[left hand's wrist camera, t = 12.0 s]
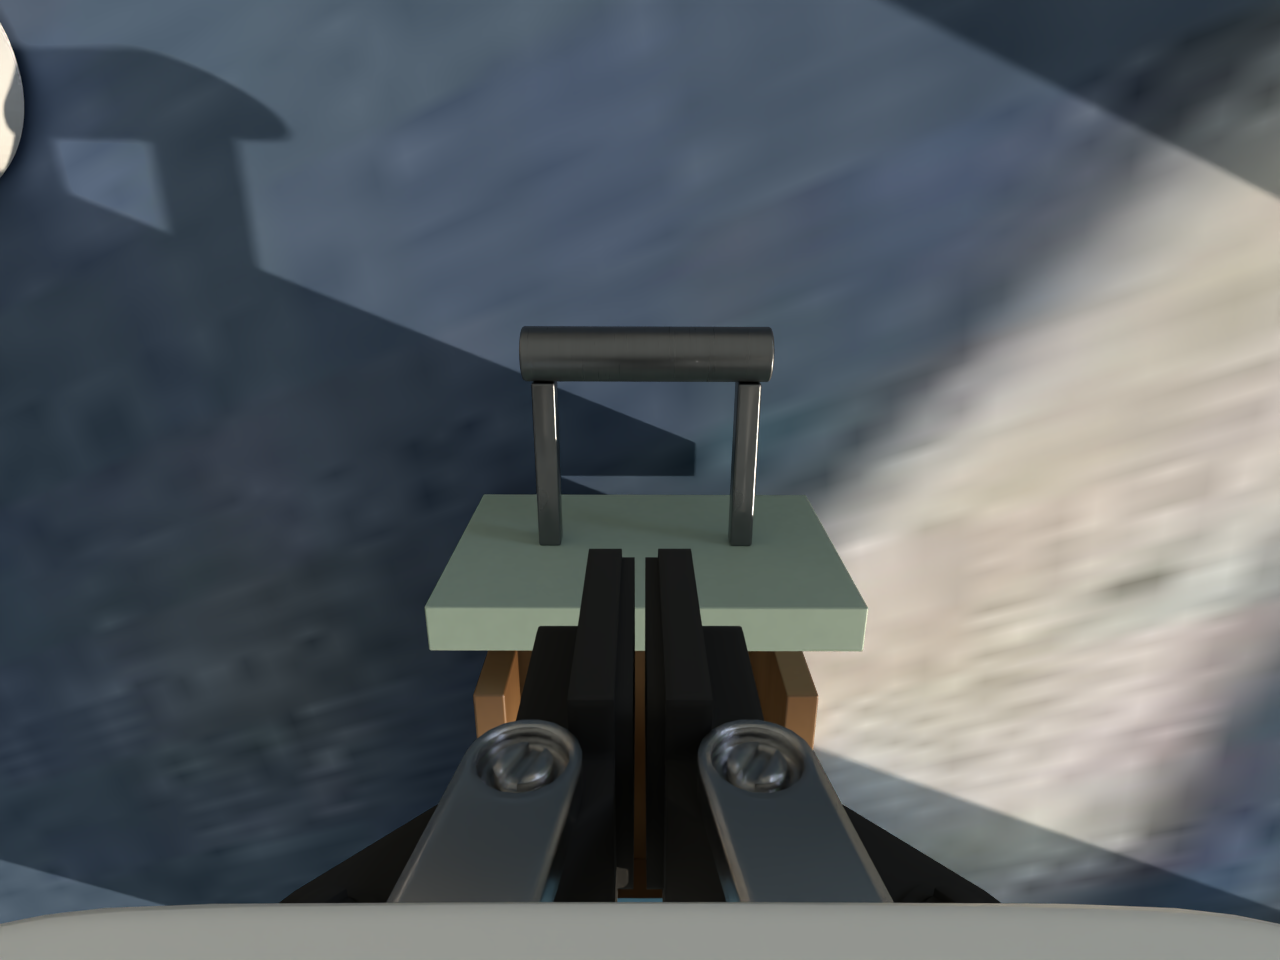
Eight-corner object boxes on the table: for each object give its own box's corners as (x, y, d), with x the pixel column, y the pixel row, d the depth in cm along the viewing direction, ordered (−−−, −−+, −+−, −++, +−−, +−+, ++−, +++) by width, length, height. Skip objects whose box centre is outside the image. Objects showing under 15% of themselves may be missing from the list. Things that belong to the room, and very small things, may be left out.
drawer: (469, 306, 22) (395, 354, 15) (822, 307, 22) (901, 356, 15) (510, 847, 29) (472, 1037, 23) (774, 848, 29) (814, 1038, 23)
